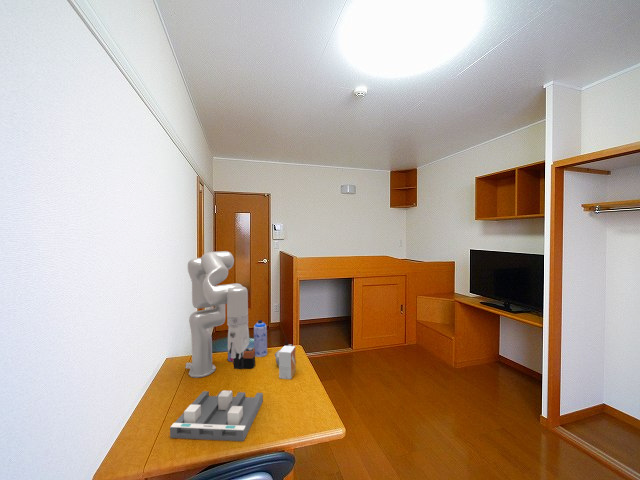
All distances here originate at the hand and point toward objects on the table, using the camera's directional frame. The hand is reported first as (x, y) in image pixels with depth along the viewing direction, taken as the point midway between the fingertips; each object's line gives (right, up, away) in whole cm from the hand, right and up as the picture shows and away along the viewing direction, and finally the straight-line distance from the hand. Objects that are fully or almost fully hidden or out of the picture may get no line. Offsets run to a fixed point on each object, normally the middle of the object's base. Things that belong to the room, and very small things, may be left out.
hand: (238, 367), depth 101 cm
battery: (-8, -20, +41) cm, 46 cm away
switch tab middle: (-7, -18, +5) cm, 20 cm away
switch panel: (-7, -19, +1) cm, 21 cm away
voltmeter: (+12, -19, +49) cm, 54 cm away
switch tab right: (+1, -18, -5) cm, 18 cm away
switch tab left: (-15, -18, -4) cm, 24 cm away
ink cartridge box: (-17, -20, +52) cm, 58 cm away
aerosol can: (-4, -19, +57) cm, 60 cm away
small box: (+15, -19, +32) cm, 40 cm away
